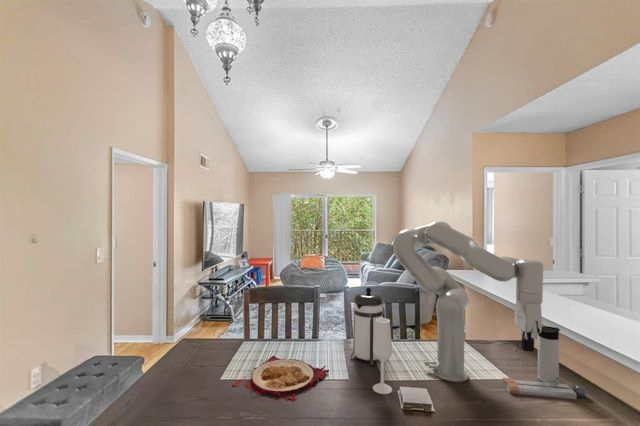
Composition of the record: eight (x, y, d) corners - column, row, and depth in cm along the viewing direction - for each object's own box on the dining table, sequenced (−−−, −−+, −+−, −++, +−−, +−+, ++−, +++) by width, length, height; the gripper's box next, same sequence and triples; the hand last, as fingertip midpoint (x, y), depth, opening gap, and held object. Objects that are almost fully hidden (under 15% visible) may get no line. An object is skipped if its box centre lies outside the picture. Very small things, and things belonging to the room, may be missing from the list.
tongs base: (579, 390, 113) (579, 382, 113) (588, 398, 108) (589, 390, 108) (502, 384, 117) (502, 376, 117) (508, 391, 112) (508, 383, 112)
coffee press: (392, 367, 129) (392, 292, 129) (351, 366, 130) (352, 291, 130) (384, 348, 147) (384, 282, 147) (348, 348, 147) (349, 282, 147)
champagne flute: (379, 381, 118) (380, 315, 118) (395, 388, 114) (396, 320, 114) (368, 388, 114) (369, 320, 114) (384, 396, 109) (385, 325, 109)
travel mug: (563, 387, 115) (563, 331, 115) (542, 385, 116) (542, 330, 116) (554, 378, 121) (554, 325, 121) (534, 377, 122) (535, 324, 122)
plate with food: (273, 360, 137) (273, 351, 137) (329, 373, 124) (329, 364, 124) (231, 388, 115) (231, 378, 115) (294, 408, 103) (294, 397, 103)
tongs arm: (571, 395, 110) (571, 388, 110) (576, 399, 108) (576, 392, 108) (506, 388, 114) (506, 382, 114) (509, 393, 111) (509, 386, 111)
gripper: (508, 290, 118) (507, 340, 118) (526, 301, 103) (525, 359, 103) (531, 291, 117) (529, 342, 117) (553, 303, 102) (551, 361, 102)
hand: (527, 350), depth 110 cm, fingers closed
